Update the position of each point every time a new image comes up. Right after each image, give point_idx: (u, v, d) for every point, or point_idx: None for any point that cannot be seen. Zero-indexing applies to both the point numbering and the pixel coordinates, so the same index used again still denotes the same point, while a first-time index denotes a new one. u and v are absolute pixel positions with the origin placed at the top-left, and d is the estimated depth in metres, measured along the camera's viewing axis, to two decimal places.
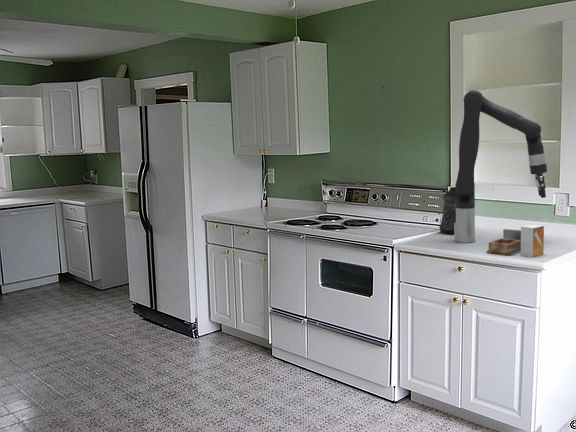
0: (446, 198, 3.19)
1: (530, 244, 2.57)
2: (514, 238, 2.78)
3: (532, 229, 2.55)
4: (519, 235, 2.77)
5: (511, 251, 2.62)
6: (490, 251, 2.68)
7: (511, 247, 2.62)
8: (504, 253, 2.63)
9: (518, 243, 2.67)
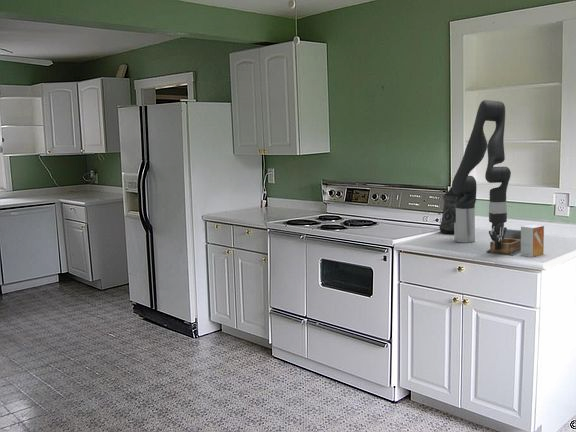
0: (446, 198, 3.19)
1: (530, 244, 2.57)
2: (514, 238, 2.78)
3: (532, 229, 2.55)
4: (519, 235, 2.77)
5: (512, 250, 2.63)
6: (491, 250, 2.69)
7: (512, 246, 2.63)
8: (505, 252, 2.64)
9: (519, 242, 2.68)
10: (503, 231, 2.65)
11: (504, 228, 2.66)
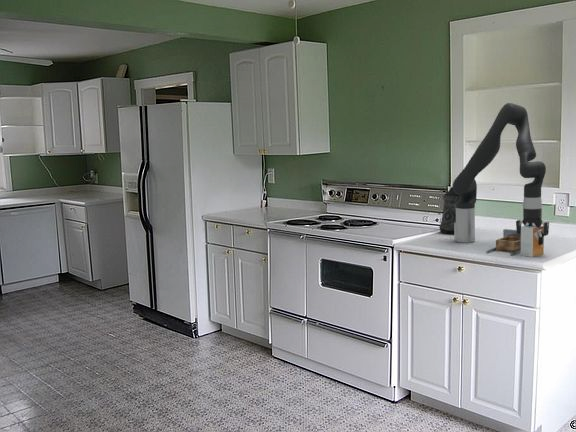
0: (446, 198, 3.19)
1: (530, 244, 2.57)
2: None
3: (532, 229, 2.55)
4: (519, 235, 2.77)
5: (518, 248, 2.67)
6: (497, 248, 2.73)
7: (518, 244, 2.67)
8: (511, 250, 2.68)
9: None
10: (544, 227, 2.55)
11: (544, 223, 2.55)
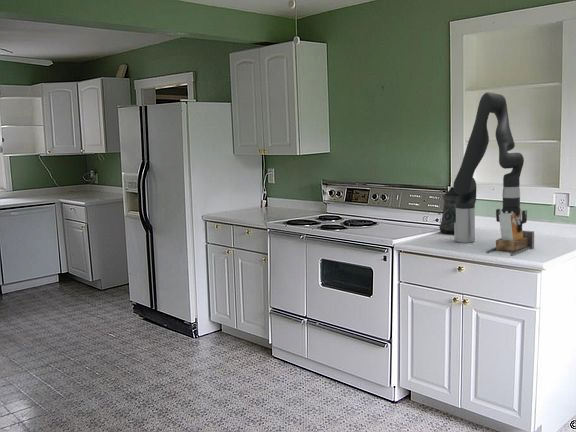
0: (446, 198, 3.19)
1: (510, 230, 2.68)
2: None
3: (509, 216, 2.67)
4: None
5: (518, 248, 2.67)
6: (497, 248, 2.73)
7: (518, 244, 2.67)
8: (511, 250, 2.68)
9: (525, 240, 2.72)
10: (522, 215, 2.67)
11: None
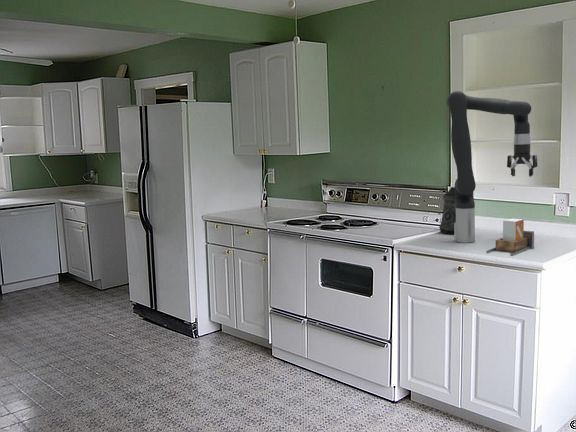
0: (446, 198, 3.19)
1: (513, 237, 2.68)
2: None
3: (514, 222, 2.67)
4: None
5: (518, 248, 2.67)
6: (497, 248, 2.72)
7: (517, 244, 2.67)
8: (511, 250, 2.68)
9: (524, 241, 2.72)
10: None
11: None
